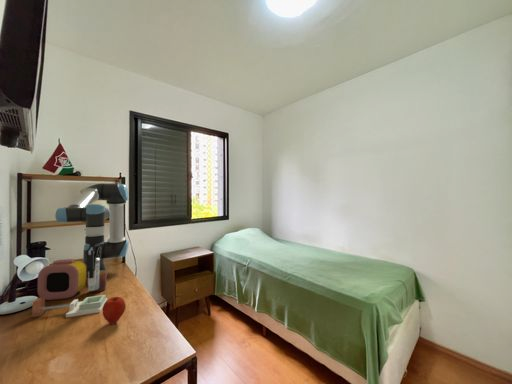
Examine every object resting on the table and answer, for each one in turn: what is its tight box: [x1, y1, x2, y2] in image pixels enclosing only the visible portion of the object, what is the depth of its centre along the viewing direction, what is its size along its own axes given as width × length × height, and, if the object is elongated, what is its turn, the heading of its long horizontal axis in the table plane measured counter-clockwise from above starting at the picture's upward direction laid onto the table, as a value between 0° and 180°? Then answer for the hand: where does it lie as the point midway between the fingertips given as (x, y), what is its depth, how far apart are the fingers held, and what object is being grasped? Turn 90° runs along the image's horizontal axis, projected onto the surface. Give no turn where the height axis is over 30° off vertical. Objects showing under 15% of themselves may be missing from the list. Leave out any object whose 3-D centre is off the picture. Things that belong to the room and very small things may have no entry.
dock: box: [65, 294, 108, 318], centre depth 105 cm, size 12×13×4 cm
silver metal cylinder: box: [87, 257, 100, 292], centre depth 106 cm, size 4×4×15 cm
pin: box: [31, 297, 78, 318], centre depth 100 cm, size 4×16×7 cm, turn 111°
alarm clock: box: [36, 258, 87, 301], centre depth 118 cm, size 18×11×19 cm, turn 102°
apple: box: [102, 296, 126, 325], centre depth 93 cm, size 9×8×11 cm
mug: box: [85, 270, 109, 294], centre depth 123 cm, size 12×9×10 cm
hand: (93, 282), depth 106 cm, fingers closed on silver metal cylinder, 4 cm apart
